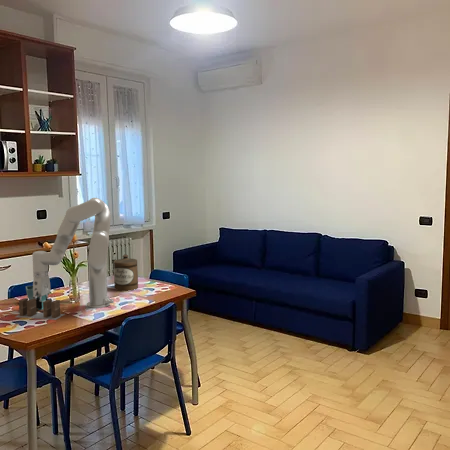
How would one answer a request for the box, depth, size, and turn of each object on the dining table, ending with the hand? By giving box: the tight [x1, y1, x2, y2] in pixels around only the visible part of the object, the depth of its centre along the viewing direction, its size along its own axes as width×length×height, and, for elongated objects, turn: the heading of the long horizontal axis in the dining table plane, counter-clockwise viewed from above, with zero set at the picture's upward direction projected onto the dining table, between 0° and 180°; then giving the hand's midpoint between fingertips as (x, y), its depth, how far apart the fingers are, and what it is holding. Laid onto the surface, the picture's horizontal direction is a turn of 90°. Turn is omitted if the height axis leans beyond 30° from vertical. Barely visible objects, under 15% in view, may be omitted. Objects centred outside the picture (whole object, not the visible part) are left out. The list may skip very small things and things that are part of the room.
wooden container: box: [113, 254, 139, 292], centre depth 297 cm, size 15×15×22 cm
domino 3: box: [42, 299, 53, 318], centre depth 239 cm, size 2×5×8 cm, turn 170°
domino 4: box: [51, 299, 61, 318], centre depth 238 cm, size 2×5×8 cm, turn 170°
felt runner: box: [15, 312, 66, 320], centre depth 240 cm, size 23×9×1 cm, turn 80°
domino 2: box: [27, 299, 38, 317], centre depth 240 cm, size 2×5×8 cm, turn 170°
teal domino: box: [37, 295, 46, 311], centre depth 252 cm, size 2×5×8 cm, turn 170°
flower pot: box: [25, 285, 34, 301], centre depth 265 cm, size 9×9×9 cm
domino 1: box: [18, 297, 29, 316], centre depth 241 cm, size 2×5×8 cm, turn 170°
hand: (42, 306), depth 253 cm, fingers closed on teal domino, 4 cm apart
